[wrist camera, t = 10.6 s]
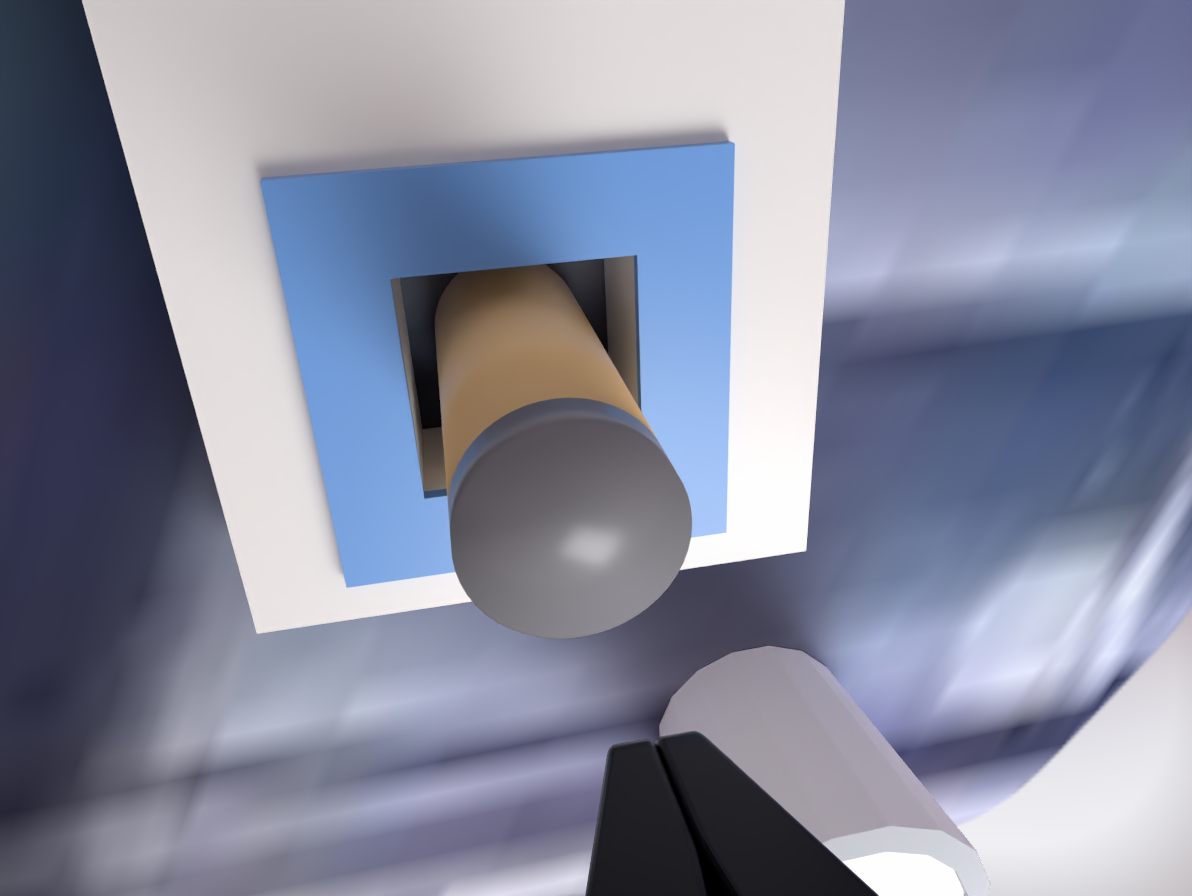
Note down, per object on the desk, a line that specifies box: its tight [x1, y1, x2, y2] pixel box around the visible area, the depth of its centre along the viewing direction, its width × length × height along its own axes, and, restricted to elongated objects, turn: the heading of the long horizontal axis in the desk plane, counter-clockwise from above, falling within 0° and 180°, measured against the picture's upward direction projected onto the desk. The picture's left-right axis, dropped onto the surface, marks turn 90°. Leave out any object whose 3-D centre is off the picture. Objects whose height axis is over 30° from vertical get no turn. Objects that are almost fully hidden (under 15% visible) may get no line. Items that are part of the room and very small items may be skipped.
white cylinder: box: [659, 646, 990, 896], centre depth 23 cm, size 7×7×7 cm
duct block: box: [82, 0, 845, 634], centre depth 15 cm, size 12×22×3 cm, turn 2°
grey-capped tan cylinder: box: [434, 264, 692, 638], centre depth 15 cm, size 3×3×9 cm
